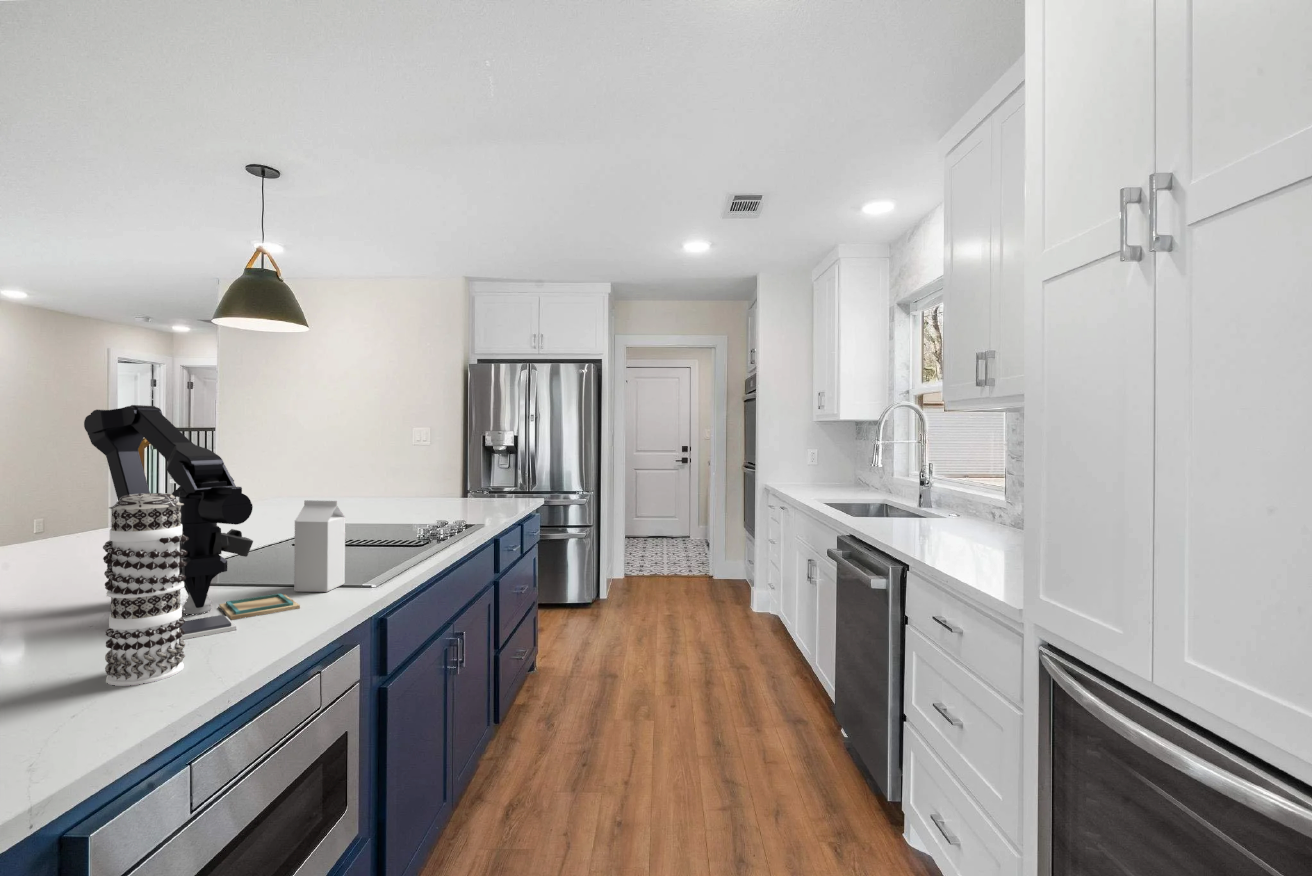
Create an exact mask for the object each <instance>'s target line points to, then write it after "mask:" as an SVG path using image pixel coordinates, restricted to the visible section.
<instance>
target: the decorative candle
mask: <svg viewBox="0 0 1312 876" xmlns="http://www.w3.org/2000/svg"><path fill="white" fill-rule="evenodd" d="M181 505H184V503H179V500H178V499H177V498H176V497H174V496H173V495H172V493H164V492H154V493H153V492H150V493H145V494H132V495H125V496H122V497H121V498H120V499H119V500H118V499H117V502H116V503H115V504H114V505H112V506H109V507H108V509H110V510H111V521H110V522H111V527H110V529H109V540H108V541H106V542H105V543H104V545H103V546H102V549H103V550H104V551H105V552H106V554H105V555H104V556H103V558H102V560H103V562H104V564H109V565H111V567H109V568H107V567H106V570H105V571H104V576H105V577H106V580H107V581H106V582H105V583H104V586H105V589H106V590H107V591H106V597H108V598H110V614H109V617H108V628H107V629H106V630H105V636H106V637H109V639H108V640H106V641H105V647H106V648H107V649H110V650H108V651H107V653H105V657H104V659H105V662H106V663H107V664H106V665H105V668H104V669H105V671H104V672H105V674H107V676H106V680H105V684H107V683H108V684H107V685H110V686H112V685H115V686H114V687H129V686H130V685H131V686H139V684H140V685H144V684H143V683H145V684H149V683H150V684H151V683H155V682H158V681H161V680H164V679H165V680H166V679H168V678H170V677H172V676H175V675H177V674H180V673H181V672H182V671H183V670H184V669H185V666H184V665H185V664H184V662H183V659H184V658H185V657H186V655H185V654H184V653H185V652H184V651H183V650H184V648H185V646H186V643H185V642H184V639H183V640H182V639H180V638H181V637H182V635H184V634H185V631H184V630H183V628H180V627H181V626H182V625H183V624H184V623H185V621H186V620H185V618H184V617H182V615H183V606H182V604H181V589H183V588H185V587H184V582H183V581H184V580H185V579H186V576H184V575H182V574H181V573H179V569H180V568H181V567H182V568H183V567H184V566H186V565H187V562H185V561H183V560H182V561H181V560H179V558H181V557H183V556H185V555H187V551H186V550H183V549H181V550H180V543H181V545H182V543H184V542H186V541H188V540H189V538H188V537H187V536H185V535H184V534H183V535H182V532H183V531H182V524H181ZM183 533H184V532H183ZM154 681H155V682H154Z"/></svg>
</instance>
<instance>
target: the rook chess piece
mask: <svg viewBox="0 0 1312 876" xmlns="http://www.w3.org/2000/svg"><path fill="white" fill-rule="evenodd" d="M212 604H213V602H212V600H211V599H210V597H209V596H208V594H207V597H206V600H205V604H204V606H203V607H201V608H196V606H195V604H194V602H193V600H192V598H191V596H190V594H189V595H188V596H187V598H186V601H185V602H184V604H183V606H182V608H184V610H182V613H183V614H185V615H186V614H187V616H189V615H188V614H191V615H190V616H193V615H192V614H198V615H203V614H205V613H204V612H207V613H209V612H211V610H212V609H213V606H211V605H212ZM208 611H209V612H208ZM202 613H203V614H202Z"/></svg>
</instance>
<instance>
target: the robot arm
mask: <svg viewBox="0 0 1312 876" xmlns="http://www.w3.org/2000/svg"><path fill="white" fill-rule="evenodd" d="M83 427H84V430H85V432H86V433H87V436H88V438H89V441H90V443H91V444H92V446H94V447H95V448H96V449H97V450H98V451H100V452H101V453H102V454H103V455H105V457H106V461H107V465H108V469H109V472H110V475H111V479H112V482H113V487H114V491H115V495H116V497H117V498H116V499H117V501H118V500H119V499H120V498H121V497H122V496H125V495H132V494H145V493H151V492H150V489H149V485H148V484H149V483H148V481H147V478H146V473H145V470H144V466H143V463H142V458H141V455H140V452H139V448H140V446H141V444H142V442H143V440H144V439H145V440H146V441H147V442H148V444H150V445H151V446H152V447H153V448H154V449H155V450H156V451H157V452H158V453H159V454H160V455H161V456H162V457H164V460H166V462H167V464H166V471H167V473H168V474H169V476H170V477H171V479H172V480H173V481H174V482H175V483H176V485H177V486H179V487H178V488H177V489H175V490H174V491H173V492H172V493H171V494H172V495H173V496H174V497H175V498H176V497H177V498H178V502H179V503H184V505H181V524H182V531H183V532H184V533H183V532H182V535H183V534H184V535H185V536H187V537H188V538H189V540H188V541H186V542H184V543H182V545H181V543H180V550H181V549H183V550H186V551H187V555H185V556H183V557H181V558H179V560H181V561H182V560H183V561H185V562H187V565H186V566H184V567H183V568H182V567H181V568H180V569H179V573H181V574H182V575H184V576H186V579H185V580H184V581H183V582H184V587H183V588H184V589H185V591H186V593H187V595H188V596H189V594H190V596H191V598H192V600H193V602H194V604H195V606H196V608H201V607H203V606H204V604H205V600H206V597H207V595H208V594H209V590H210V586H211V584H212V580H213V579H214V578H215V577H217V576H218V575H219V574H221V573H226V572H228V560H227V559H225V558H224V557H223V556H222V552H226V553H231V554H235V555H239V556H240V557H244V558H247V557H248V555H249V553H250V550H251V548H252V546H253V543H254V540H253V539H251V538H248V537H247V536H243V534H242V531H241V530H237V529H234V528H231V529H230V530H228V531H227V533H226V532H222V528H221V527H220V526H219V525H218V524H223V525H224V524H225V525H241V524H243V523H245V522H247V520H249V518H250V516H251V515H252V512H253V507H254V506H253V503H252V501H251V499H250V498H249V497H248V496H247V495H246V494H244V493H242V492H243V488H242V486H237V485H236V483H235V479H233V477H232V476H231V474H230V472H229V470H228V468H227V467H226V464H225V462H224V460H223V458H222V457H221V456H220V455H219V454H217V453H216V452H213V451H212V450H210V449H209V448H206V447H202V446H200V445H196V444H195V443H193V442H192V441H191V440H190V439H189V438H187V436H185V435H184V434H183V432H182V431H180V430H179V429H178V428H177V427H176V426H175V425H174V424H173V423H172V422H171V421H170V420H168V418H167V417H165V416H164V415H163V411H162V409H161V408H160V407H157V406H155V405H143V404H142V405H141V404H140V405H138V404H137V405H135V404H131V405H128V406H125V407H120V408H114V409H95V410H93V411H91V412H90V414H89V415H87V416H86V417H85V418H84V421H83ZM109 567H111V565H109V564H107V565H106V569H107V568H109Z"/></svg>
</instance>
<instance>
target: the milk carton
mask: <svg viewBox="0 0 1312 876" xmlns="http://www.w3.org/2000/svg"><path fill="white" fill-rule="evenodd" d="M293 559H294V562H293V563H294V567H293V568H294V569H293V570H294V572H293V573H294V574H293V575H294V576H293V577H294V578H293V579H294V580H293V581H294V583H293V584H294V586H293V587H294V589H293V590H294V592H307V593H308V592H311V593H312V592H315V593H328V592H330V591H332V590H334V589H336V588H339V587H341V586H342V585H344V584H345V582H346V581H345V580H346V579H345V578H346V572H345V571H346V568H345V567H346V516H345V515H344V513H343V511H342V510H341V509H340V508H339V506H338V501H337V500H304V505H303V507H302V508H301V510H300V512H299V513H298V515H297V517H296V518H295V520H294V558H293Z"/></svg>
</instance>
